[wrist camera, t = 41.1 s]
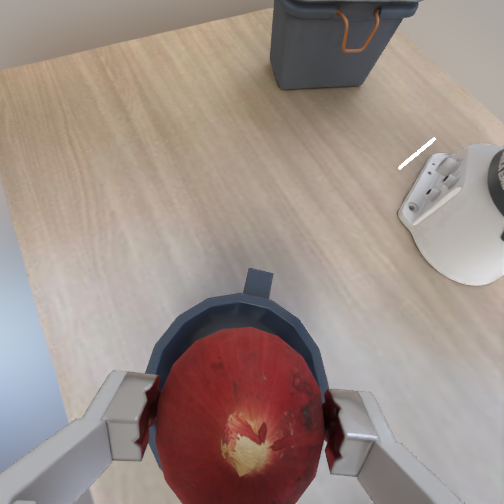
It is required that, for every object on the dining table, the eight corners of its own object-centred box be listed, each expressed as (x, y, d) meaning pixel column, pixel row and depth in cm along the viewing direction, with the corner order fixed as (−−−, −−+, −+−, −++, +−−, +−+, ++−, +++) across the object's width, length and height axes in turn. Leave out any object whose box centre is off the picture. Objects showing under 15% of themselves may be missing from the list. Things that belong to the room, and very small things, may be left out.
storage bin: (355, 48, 53) (398, -54, 39) (384, 103, 47) (445, 6, 34) (254, 53, 49) (264, -57, 36) (273, 112, 44) (292, 9, 31)
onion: (287, 332, 14) (361, 309, 7) (298, 460, 12) (422, 633, 5) (179, 335, 13) (127, 314, 6) (170, 472, 11) (76, 696, 4)
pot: (308, 303, 33) (338, 285, 24) (282, 501, 25) (311, 582, 16) (197, 278, 33) (186, 250, 24) (139, 468, 25) (91, 530, 16)
